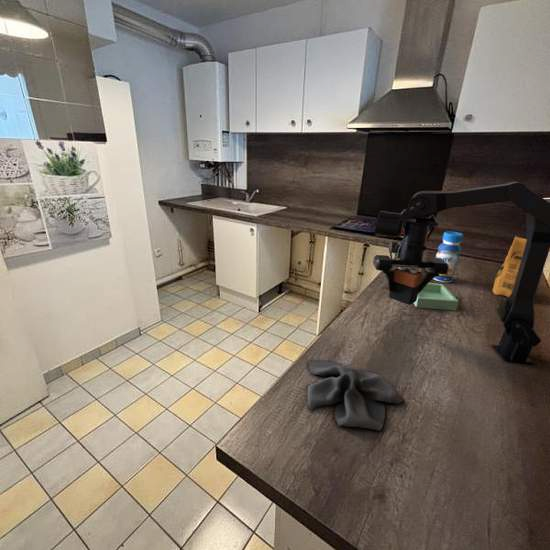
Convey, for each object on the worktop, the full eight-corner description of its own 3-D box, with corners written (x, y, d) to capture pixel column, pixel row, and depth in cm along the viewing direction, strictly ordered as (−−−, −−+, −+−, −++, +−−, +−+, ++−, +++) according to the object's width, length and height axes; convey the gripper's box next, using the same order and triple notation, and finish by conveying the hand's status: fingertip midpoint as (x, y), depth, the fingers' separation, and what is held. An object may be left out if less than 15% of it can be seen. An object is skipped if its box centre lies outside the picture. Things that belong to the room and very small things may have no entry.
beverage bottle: (457, 281, 121) (471, 235, 114) (443, 284, 118) (455, 236, 111) (440, 274, 129) (452, 230, 121) (426, 276, 126) (437, 231, 118)
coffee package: (493, 285, 118) (511, 233, 110) (532, 295, 110) (555, 239, 102) (489, 293, 111) (508, 238, 103) (530, 304, 104) (555, 245, 95)
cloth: (408, 388, 65) (413, 367, 63) (381, 451, 51) (387, 426, 49) (320, 350, 77) (322, 330, 75) (279, 392, 63) (280, 370, 61)
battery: (410, 306, 82) (417, 273, 78) (387, 297, 86) (393, 266, 82) (416, 301, 84) (424, 269, 81) (394, 293, 89) (400, 262, 85)
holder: (456, 310, 99) (458, 301, 97) (415, 307, 100) (418, 298, 99) (440, 292, 111) (442, 284, 110) (405, 289, 113) (406, 281, 112)
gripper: (439, 233, 85) (427, 282, 91) (373, 231, 87) (366, 278, 93) (456, 244, 74) (441, 298, 81) (381, 241, 77) (372, 294, 83)
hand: (403, 291), depth 84 cm, fingers closed on battery, 7 cm apart
